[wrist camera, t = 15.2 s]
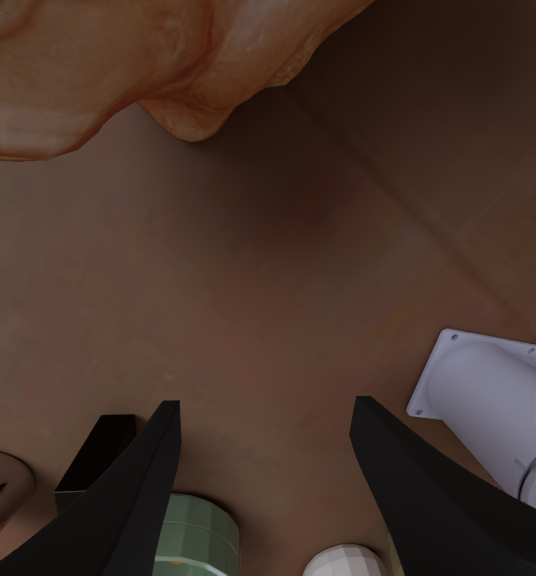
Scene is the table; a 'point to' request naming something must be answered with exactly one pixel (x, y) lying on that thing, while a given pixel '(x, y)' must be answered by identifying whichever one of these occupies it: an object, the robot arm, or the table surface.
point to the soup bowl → (197, 540)
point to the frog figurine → (146, 63)
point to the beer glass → (13, 487)
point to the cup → (346, 562)
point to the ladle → (95, 457)
